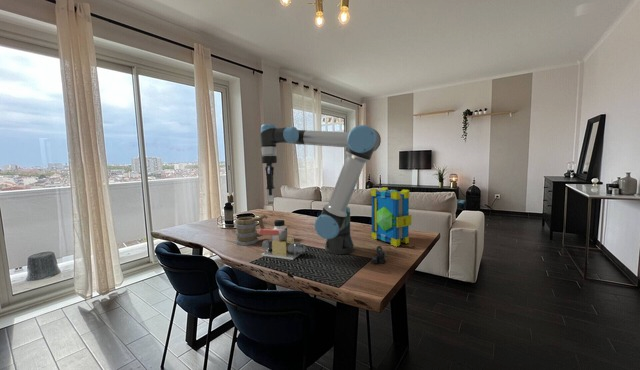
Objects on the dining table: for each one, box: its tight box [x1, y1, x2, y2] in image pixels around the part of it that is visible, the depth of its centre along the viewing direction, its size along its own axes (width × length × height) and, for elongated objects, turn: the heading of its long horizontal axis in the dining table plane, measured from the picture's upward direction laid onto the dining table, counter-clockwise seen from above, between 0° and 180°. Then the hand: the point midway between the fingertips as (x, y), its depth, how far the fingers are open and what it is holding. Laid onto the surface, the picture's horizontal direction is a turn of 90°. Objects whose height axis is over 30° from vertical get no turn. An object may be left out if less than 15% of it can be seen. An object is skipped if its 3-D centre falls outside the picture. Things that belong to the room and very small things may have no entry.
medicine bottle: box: [271, 218, 288, 240], centre depth 163 cm, size 7×7×12 cm
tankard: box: [234, 214, 269, 246], centre depth 161 cm, size 20×13×15 cm, turn 119°
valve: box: [260, 237, 307, 261], centre depth 138 cm, size 23×13×7 cm, turn 67°
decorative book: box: [370, 186, 412, 248], centre depth 153 cm, size 14×23×30 cm, turn 30°
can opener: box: [370, 245, 387, 264], centre depth 128 cm, size 18×7×6 cm, turn 165°
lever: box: [258, 228, 288, 240], centre depth 139 cm, size 15×4×4 cm, turn 75°
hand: (271, 201), depth 139 cm, fingers closed
